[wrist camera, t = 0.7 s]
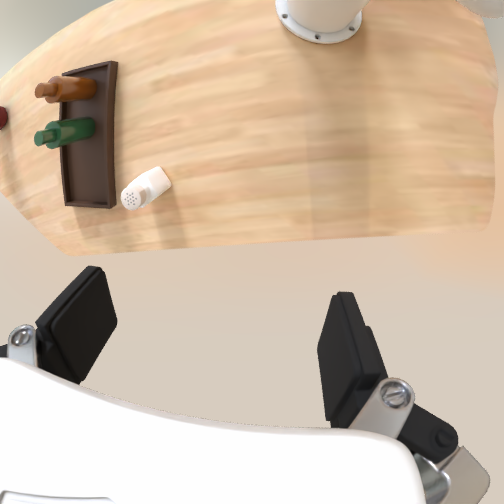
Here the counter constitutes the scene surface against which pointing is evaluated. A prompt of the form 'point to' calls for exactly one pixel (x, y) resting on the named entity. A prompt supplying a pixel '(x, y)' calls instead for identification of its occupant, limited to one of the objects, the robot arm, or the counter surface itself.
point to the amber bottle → (66, 89)
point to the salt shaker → (145, 189)
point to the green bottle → (65, 132)
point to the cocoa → (3, 117)
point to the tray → (91, 143)
